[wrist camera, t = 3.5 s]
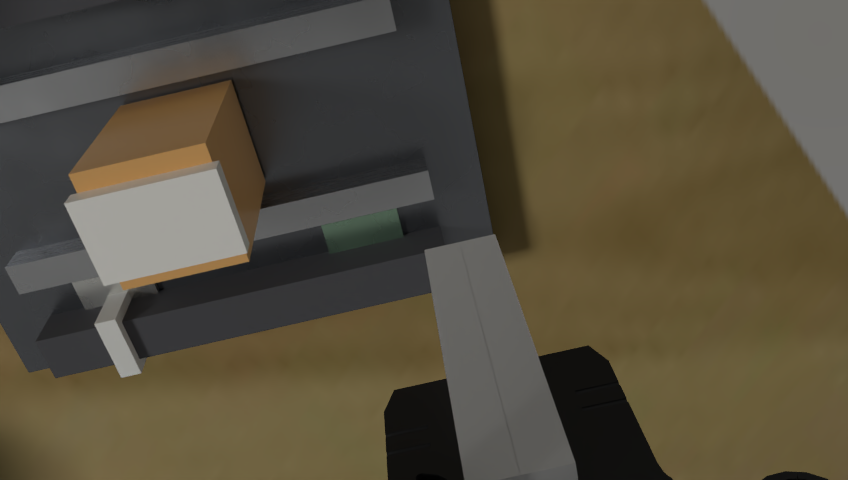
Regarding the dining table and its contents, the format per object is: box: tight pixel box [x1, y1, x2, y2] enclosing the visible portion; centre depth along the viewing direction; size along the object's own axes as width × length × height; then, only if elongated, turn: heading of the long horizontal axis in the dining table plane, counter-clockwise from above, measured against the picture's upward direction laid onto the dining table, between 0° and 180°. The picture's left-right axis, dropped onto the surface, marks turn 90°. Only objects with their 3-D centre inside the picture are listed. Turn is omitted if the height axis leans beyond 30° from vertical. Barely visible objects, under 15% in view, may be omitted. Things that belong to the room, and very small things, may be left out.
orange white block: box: [64, 80, 266, 290], centre depth 26 cm, size 4×4×7 cm
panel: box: [0, 0, 493, 372], centre depth 29 cm, size 16×20×3 cm
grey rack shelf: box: [0, 0, 445, 378], centre depth 28 cm, size 16×16×2 cm
